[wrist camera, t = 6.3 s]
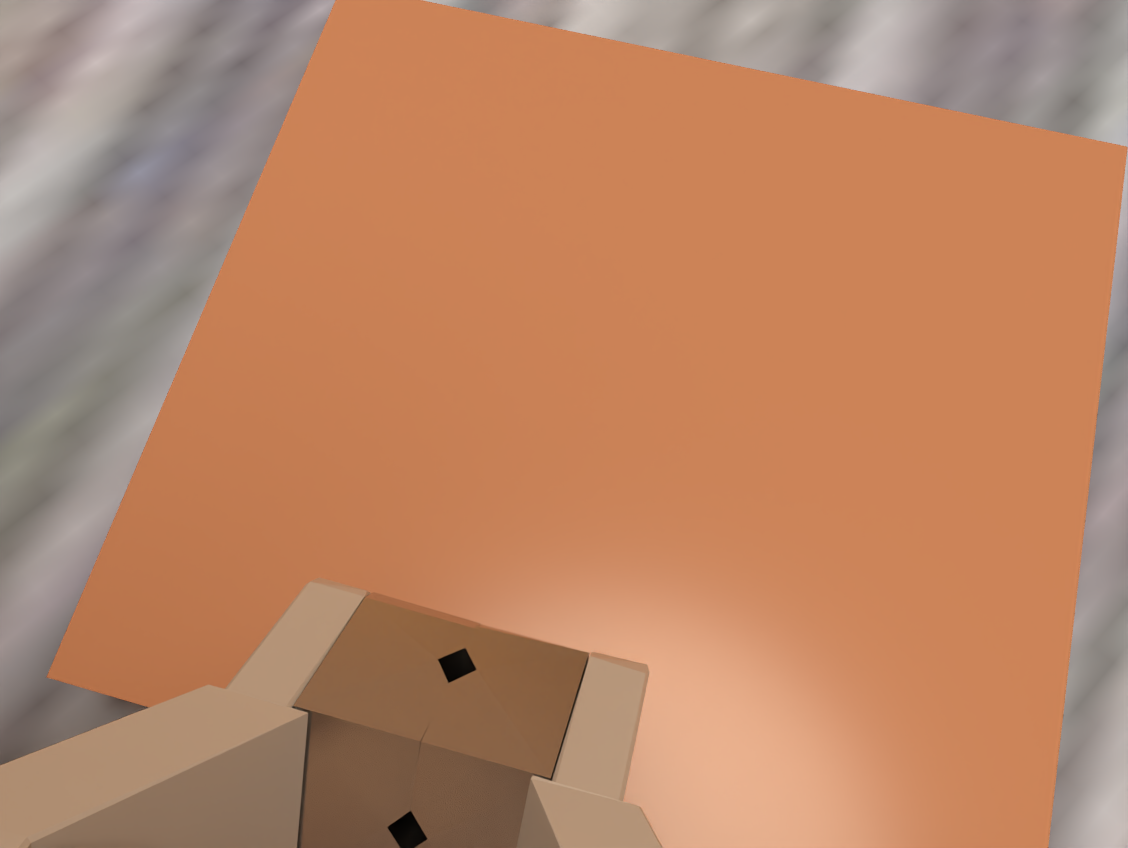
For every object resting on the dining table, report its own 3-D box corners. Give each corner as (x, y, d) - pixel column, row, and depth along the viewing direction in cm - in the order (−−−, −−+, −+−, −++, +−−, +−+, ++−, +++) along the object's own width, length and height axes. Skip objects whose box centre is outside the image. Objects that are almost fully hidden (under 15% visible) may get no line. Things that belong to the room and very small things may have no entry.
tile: (1034, 967, 12) (1127, 146, 15) (46, 676, 13) (342, -16, 17) (966, 943, 14) (1060, 229, 18) (123, 695, 15) (371, 79, 19)
